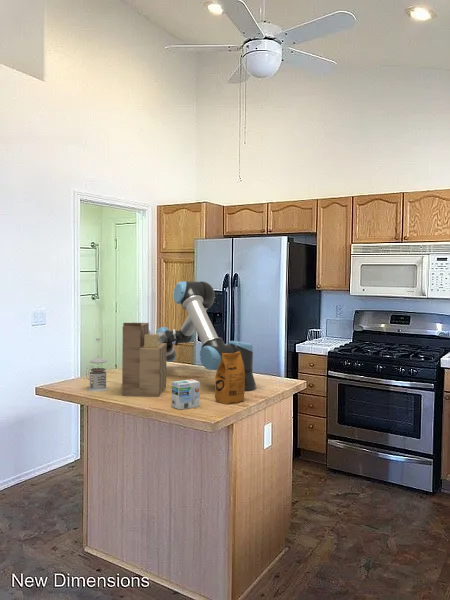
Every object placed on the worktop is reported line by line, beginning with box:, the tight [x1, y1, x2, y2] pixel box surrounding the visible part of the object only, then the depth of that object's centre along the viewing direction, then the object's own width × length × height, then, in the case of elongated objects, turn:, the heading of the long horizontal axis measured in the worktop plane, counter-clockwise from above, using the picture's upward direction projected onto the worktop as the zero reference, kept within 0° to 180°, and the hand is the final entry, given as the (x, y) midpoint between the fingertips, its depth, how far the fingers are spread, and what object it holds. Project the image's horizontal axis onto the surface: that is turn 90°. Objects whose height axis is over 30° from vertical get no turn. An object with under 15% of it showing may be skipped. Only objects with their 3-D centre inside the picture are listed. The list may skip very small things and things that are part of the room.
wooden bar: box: [144, 332, 165, 348], centre depth 254 cm, size 28×6×6 cm, turn 177°
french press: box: [85, 337, 109, 392], centre depth 250 cm, size 10×12×25 cm
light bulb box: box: [171, 378, 201, 410], centre depth 221 cm, size 11×7×11 cm, turn 126°
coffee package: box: [214, 351, 245, 405], centre depth 231 cm, size 10×12×22 cm
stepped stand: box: [121, 322, 167, 398], centre depth 247 cm, size 20×17×34 cm
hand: (160, 331), depth 267 cm, fingers open, 13 cm apart
